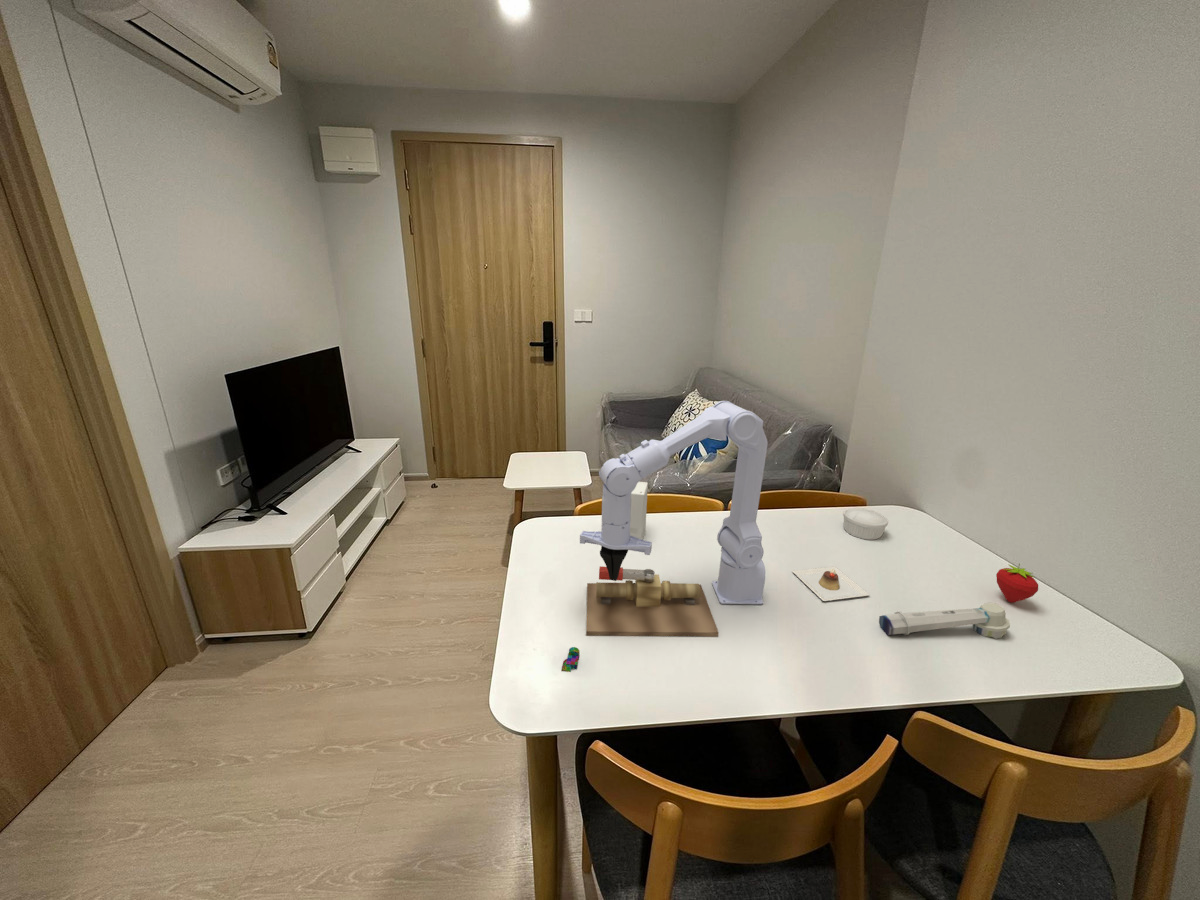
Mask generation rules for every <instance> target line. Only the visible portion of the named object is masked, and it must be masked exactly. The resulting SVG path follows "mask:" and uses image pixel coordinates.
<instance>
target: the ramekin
mask: <svg viewBox="0 0 1200 900" xmlns="http://www.w3.org/2000/svg"><path fill="white" fill-rule="evenodd" d="M842 516H843V528H844V530H845V531H846V533H847V534H849V535H851V536H853V537H855V538H859V539H863V540H869V541H871V540H872V541H873V540H877V539H878V540H879V538H881V537H882V536H883V533H884V531H885V530H886V527H887V526H888V524H889V520H888V518H887V517H886V516H885V515H883V514H881V513H879V512H877V511H874V510H870V509H867V508H860V507H859V508H857V507H851V508H850V507H849V508H846V509H844V511H843V514H842Z"/></svg>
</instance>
